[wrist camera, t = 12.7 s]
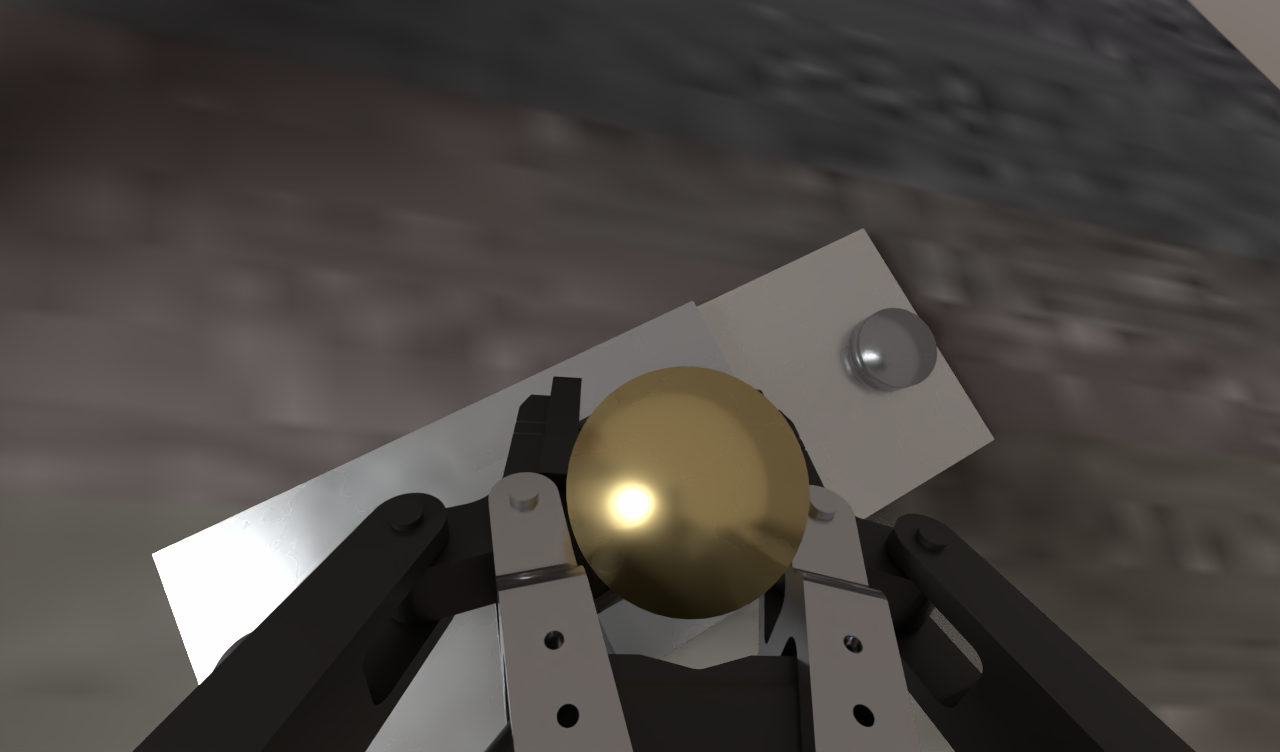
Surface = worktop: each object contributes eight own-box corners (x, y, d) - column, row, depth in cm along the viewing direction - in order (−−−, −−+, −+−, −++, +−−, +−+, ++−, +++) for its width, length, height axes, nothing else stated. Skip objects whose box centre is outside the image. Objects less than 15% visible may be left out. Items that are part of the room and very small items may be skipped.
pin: (607, 577, 17) (639, 672, 8) (551, 463, 17) (523, 432, 8) (715, 515, 17) (854, 539, 9) (659, 408, 18) (735, 329, 9)
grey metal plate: (319, 835, 16) (256, 919, 13) (210, 545, 17) (128, 557, 14) (971, 442, 21) (1039, 433, 18) (848, 241, 22) (892, 201, 19)
